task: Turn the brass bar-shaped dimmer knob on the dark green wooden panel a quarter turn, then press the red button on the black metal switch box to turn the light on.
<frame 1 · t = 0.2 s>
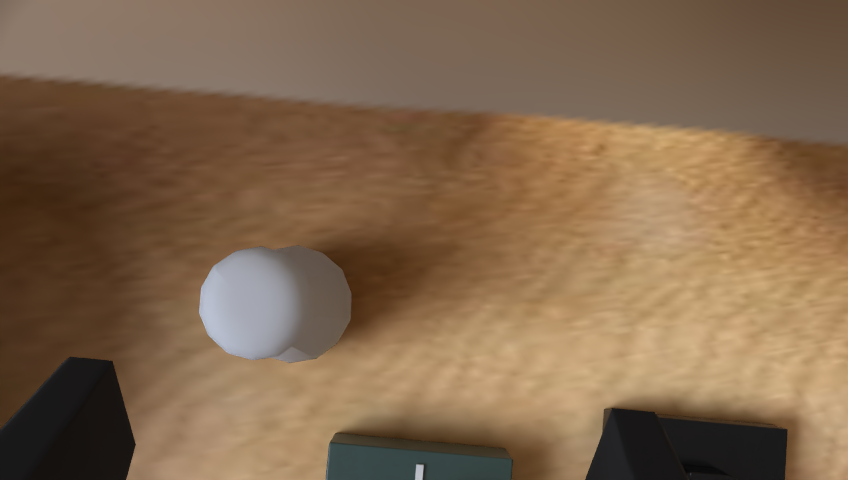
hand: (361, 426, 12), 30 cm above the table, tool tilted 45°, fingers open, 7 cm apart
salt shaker: (301, 304, 42), on the table
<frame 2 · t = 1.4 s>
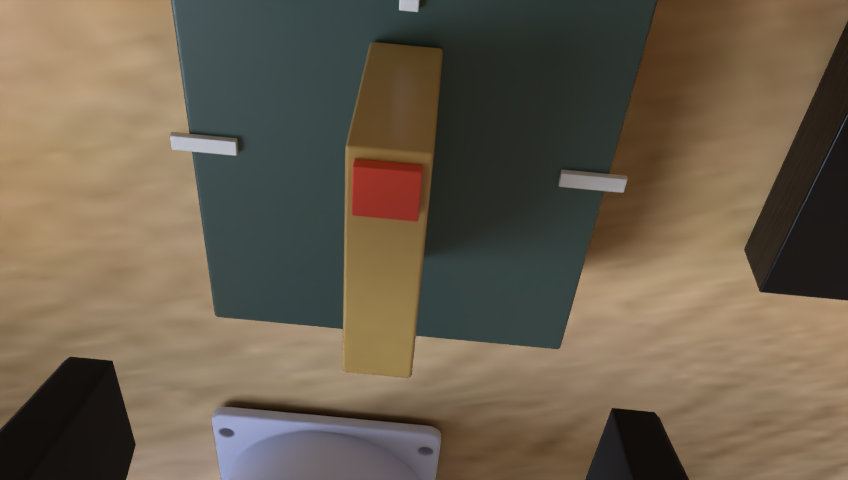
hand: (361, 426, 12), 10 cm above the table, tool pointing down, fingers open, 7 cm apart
dimmer knob: (390, 218, 15), point 5 cm above the table, hinge at 0.0°
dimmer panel: (409, 89, 19), on the table
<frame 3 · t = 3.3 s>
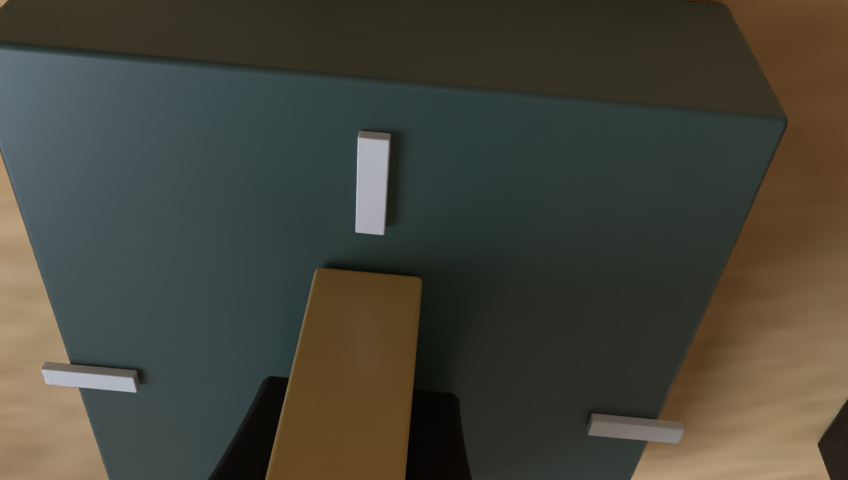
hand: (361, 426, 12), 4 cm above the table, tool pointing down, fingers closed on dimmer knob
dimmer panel: (383, 265, 14), on the table
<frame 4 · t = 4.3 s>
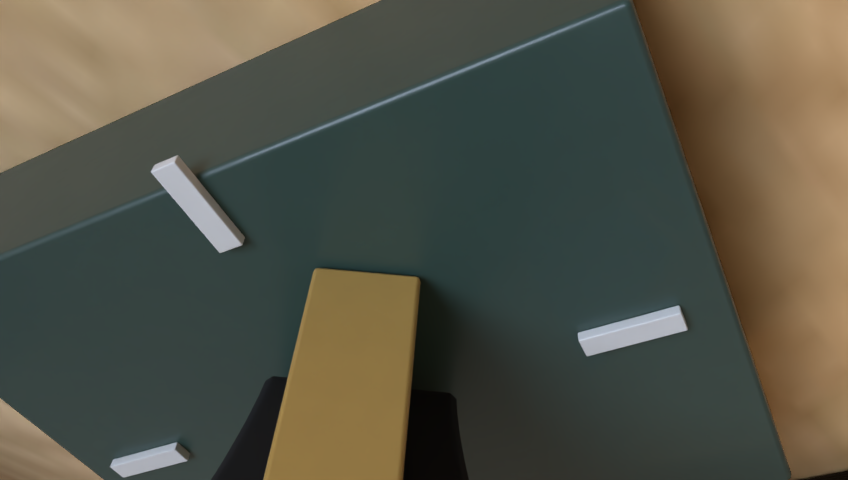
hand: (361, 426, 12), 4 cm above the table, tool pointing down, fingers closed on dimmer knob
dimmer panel: (383, 265, 14), on the table
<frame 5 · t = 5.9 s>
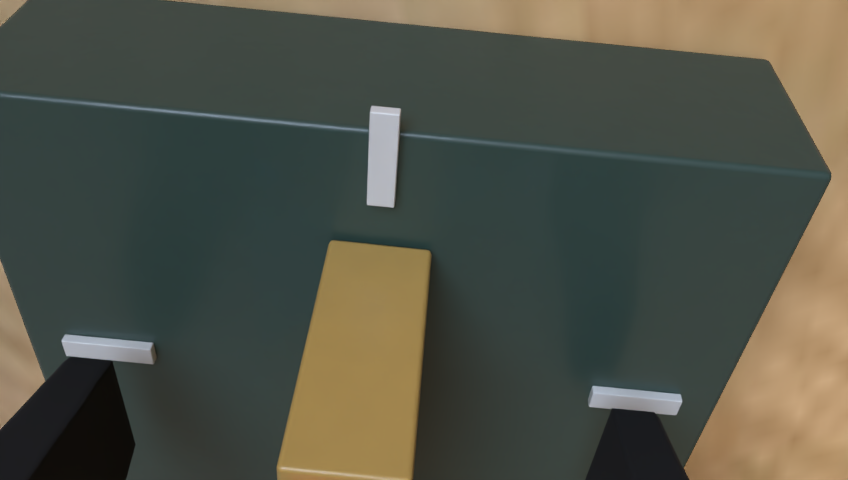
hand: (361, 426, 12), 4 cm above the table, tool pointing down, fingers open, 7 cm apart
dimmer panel: (390, 246, 15), on the table
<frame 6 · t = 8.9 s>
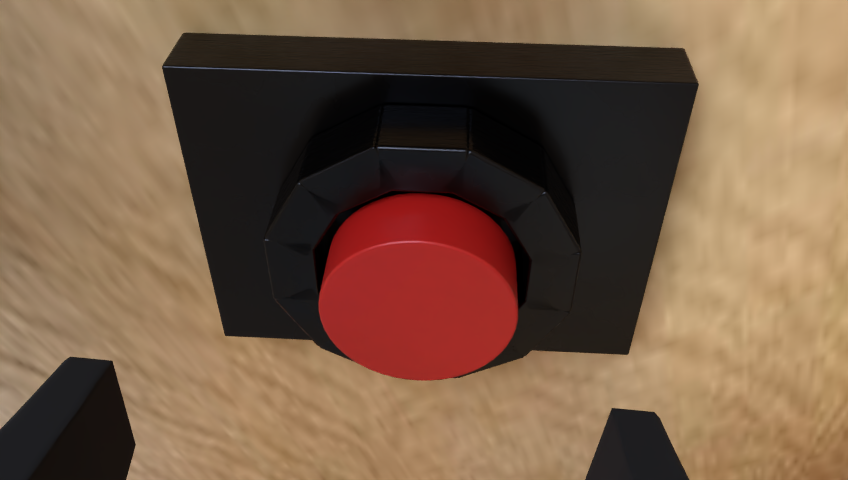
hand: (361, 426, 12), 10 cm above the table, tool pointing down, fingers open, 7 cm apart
light button: (419, 290, 19), point 4 cm above the table, slide at 0.1 cm
switch box: (428, 190, 22), on the table
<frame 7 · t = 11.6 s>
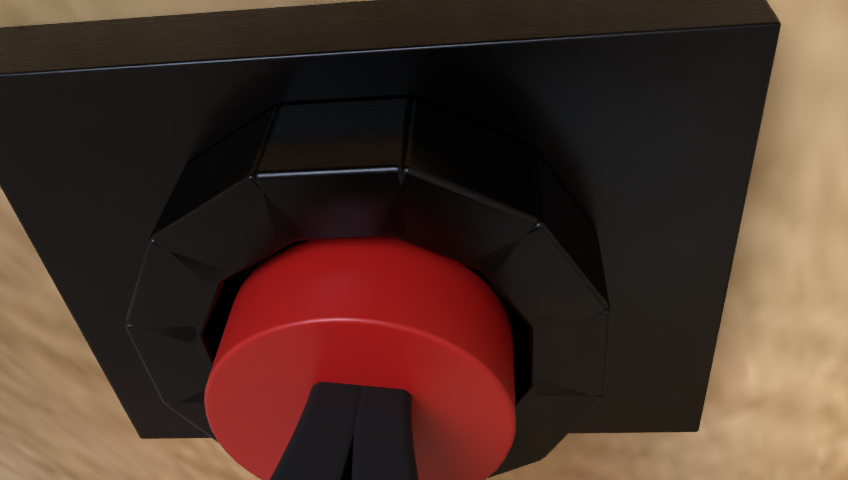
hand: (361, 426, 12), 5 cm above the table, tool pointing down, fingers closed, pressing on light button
light button: (365, 381, 12), point 4 cm above the table, slide at 0.0 cm, touching gripper
switch box: (388, 222, 15), on the table
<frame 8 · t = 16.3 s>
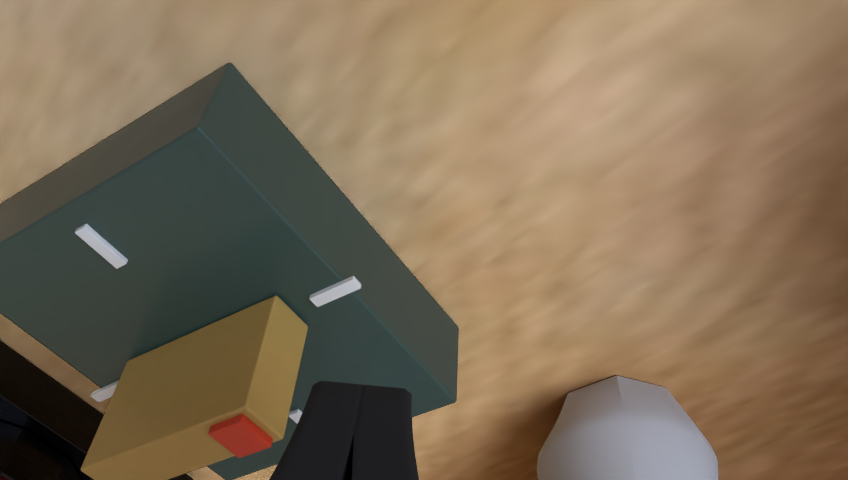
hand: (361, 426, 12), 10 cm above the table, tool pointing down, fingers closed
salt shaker: (615, 409, 28), on the table
dimmer knob: (196, 399, 20), point 5 cm above the table, hinge at 89.5°
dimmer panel: (240, 268, 24), on the table
switch box: (2, 432, 31), on the table
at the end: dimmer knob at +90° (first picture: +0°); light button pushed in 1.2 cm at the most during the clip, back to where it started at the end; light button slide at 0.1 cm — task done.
